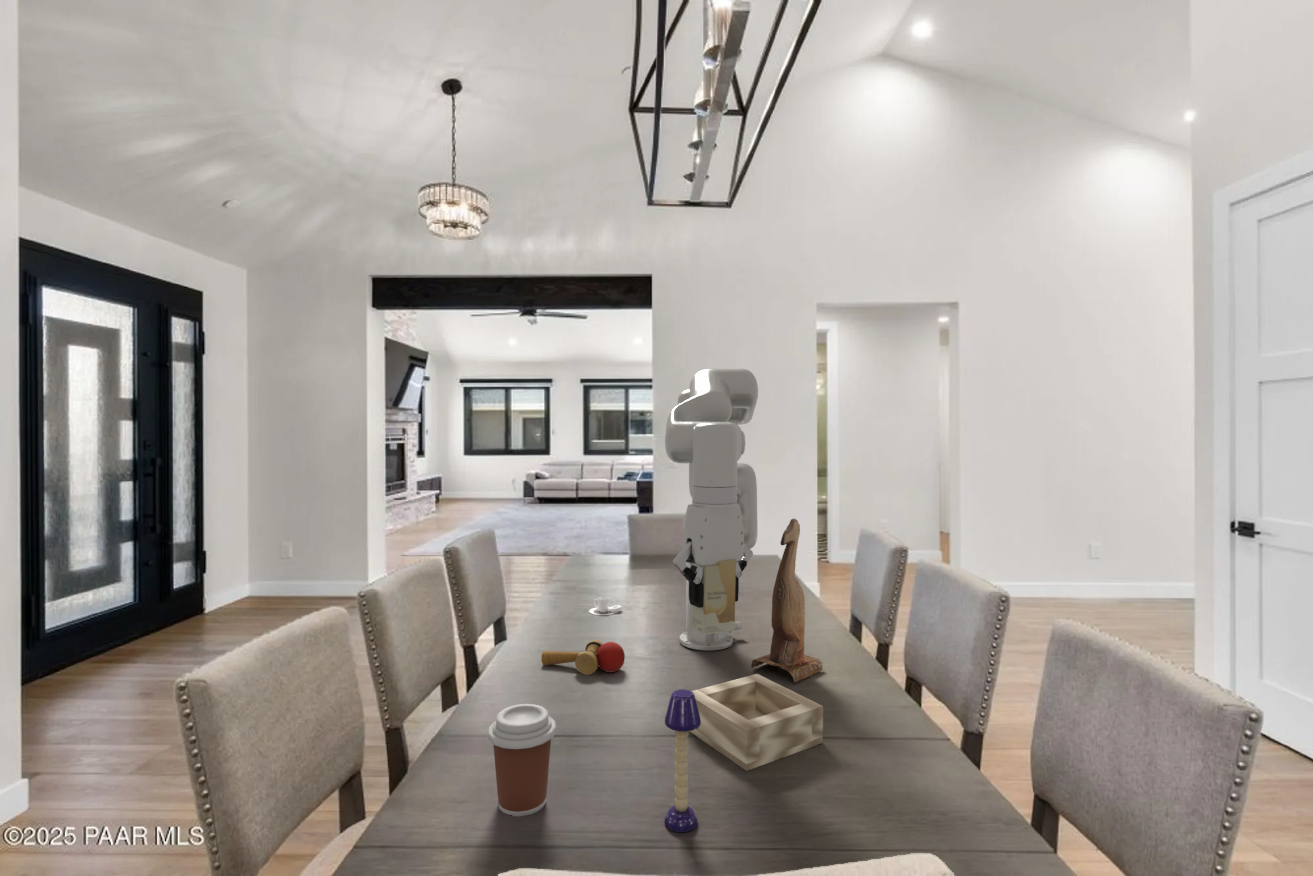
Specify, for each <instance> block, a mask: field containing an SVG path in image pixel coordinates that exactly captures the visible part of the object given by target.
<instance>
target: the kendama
mask: <svg viewBox="0 0 1313 876" xmlns="http://www.w3.org/2000/svg"><path fill="white" fill-rule="evenodd" d="M625 657H626V656H625V651H624V648H623V647H622V646H621V645H620V644H618V643H617V642H613V641H607V642H604V643H603V642H601V641H600V640H597V639H593V640H591V641H589V642H588V643H587V644H586V646H585V651H581V652H578V651H563V650H562V651H559V650H558V651H557V650H553V651H552V650H551V651H550V650H543V651H542V654H541V663H542V665H543V666H550V665H558V664H559V665H560V664H568V663H574V664H575V665H574V666H575V667H576V670H578V672H579V673H581V674H583V675H592V674H594V673H595V672H596V670H598V667H599V668H600V669H601V670H602V671H603V672H606V673H614V672H616V671H618V670H620V669H621V668H622V667H623V666H624V664H625Z"/></svg>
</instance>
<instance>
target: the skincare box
mask: <svg viewBox="0 0 1313 876" xmlns="http://www.w3.org/2000/svg"><path fill="white" fill-rule="evenodd" d="M700 583H703V585H704V595H703V607H702V608H698V607H696V606H694V605H692V628H693V629H695V630H696V631H698V632H700V633H702V634H704V635H707V634H713V633H721V632H728V631H732V632H734V631H736V630H735V622H736V621H735V620H736V619H735V618H736V616H735V615H736V602H735V583H736V559H732V560H724V561H718V562H716V563H714V564H713V565H708V566H705V567H704V573H703V576H702V579H701V581H700Z"/></svg>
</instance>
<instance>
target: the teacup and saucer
mask: <svg viewBox="0 0 1313 876" xmlns="http://www.w3.org/2000/svg"><path fill="white" fill-rule="evenodd" d="M595 601H597V604H596V603H595ZM609 603H610V598H609V596H599V597H597V598H595V599H594V600H593V605H594V606H595V607H593V608H592V607H591V609H589V610H588V613H590V614H591V615H593V616H594V615H596V616H610V615H614V614H616V613H619V612H620V611H622V610H623V607H622V605H619V604H618V605H617V604H616V605H613V606H609ZM596 610H598V611H599V613H596V612H595V611H596ZM608 611H609V613H607V612H608Z"/></svg>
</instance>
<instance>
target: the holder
mask: <svg viewBox="0 0 1313 876" xmlns="http://www.w3.org/2000/svg"><path fill="white" fill-rule="evenodd" d="M691 691H692V692H693V693H694V695H695V698H696V702H697V706H698V711H699V715H700V720H701V724H700V726H699V727H698V728H697V729H695V730H692V731H689V733H691V734H693V735H694V736H696V737H697V738H698V739H699V740H702V741H703V742H705V743H706V744H707V745H708V746H710V747H711V748H713V749H714V750H716V751H717V752H719V753H720V754H722V755H723V756H725V757H726V758H727V759H728V760H730V761H732V763H734V764H736V765H737V766H739V767H740V768H741V769H743V770H745V772H746V771H750V770H753V769H756V768H759V767H761V766H763V765H764V766H765V765H767V764H770V763H772V762H775V761H777V760H780V759H783V758H785V757H789V756H791V755H794V754H797V753H799V752H802V751H805V750H807V749H810V748H813V747H815V746H818V744H819V745H821V744H824V706H823V705H821V704H820V703H818V702H815V701H814V700H811V699H809V698H808V697H806V696H803V695H801V694H799V693H797V692H796V691H793V690H792V689H789V688H787V687H785V686H783V685H781V684H779V683H777V682H775V681H772V680H771V679H769V678H766V677H765V676H762V675H761V674H758V673H755V674H752V675H748V676H744V677H740V678H736V679H732V680H728V681H726V682H722V683H717V684H713V685H710V686H706V687H702V688H699V689H695V690H694V689H693V690H691Z"/></svg>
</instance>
